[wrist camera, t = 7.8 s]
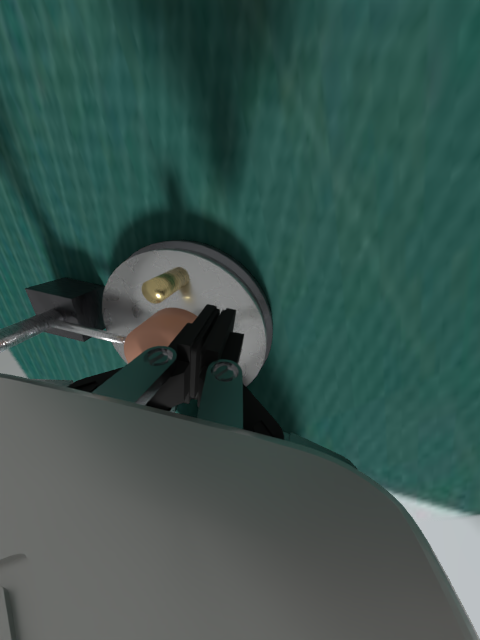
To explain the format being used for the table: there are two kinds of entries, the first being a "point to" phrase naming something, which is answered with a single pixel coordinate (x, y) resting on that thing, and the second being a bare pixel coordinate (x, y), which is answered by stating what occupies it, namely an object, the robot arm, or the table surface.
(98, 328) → the metal lever
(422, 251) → the table surface
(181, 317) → the cover
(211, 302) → the disc
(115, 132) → the table surface
